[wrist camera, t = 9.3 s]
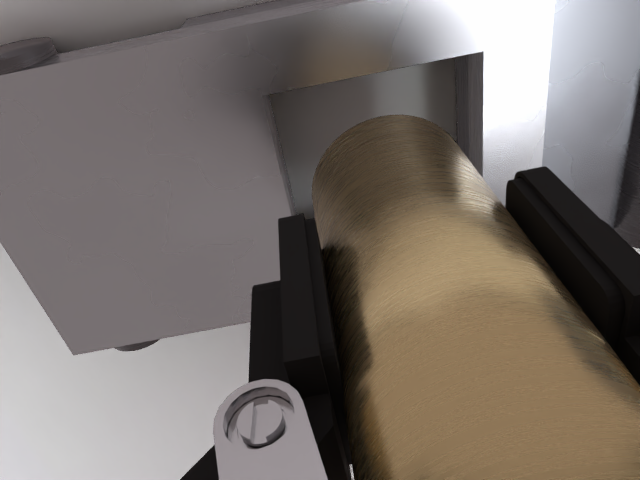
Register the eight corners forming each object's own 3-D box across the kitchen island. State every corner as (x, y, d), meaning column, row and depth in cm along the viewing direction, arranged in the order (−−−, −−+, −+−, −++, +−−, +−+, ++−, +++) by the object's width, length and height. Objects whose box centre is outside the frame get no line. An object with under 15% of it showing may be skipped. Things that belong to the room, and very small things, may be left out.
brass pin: (464, 99, 12) (893, 549, 4) (466, 237, 14) (739, 707, 6) (298, 133, 12) (364, 641, 4) (325, 264, 14) (405, 762, 6)
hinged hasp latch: (765, -114, 13) (852, -115, 11) (682, 201, 19) (731, 237, 17) (-51, 55, 14) (-103, 82, 12) (97, 313, 19) (77, 361, 17)
